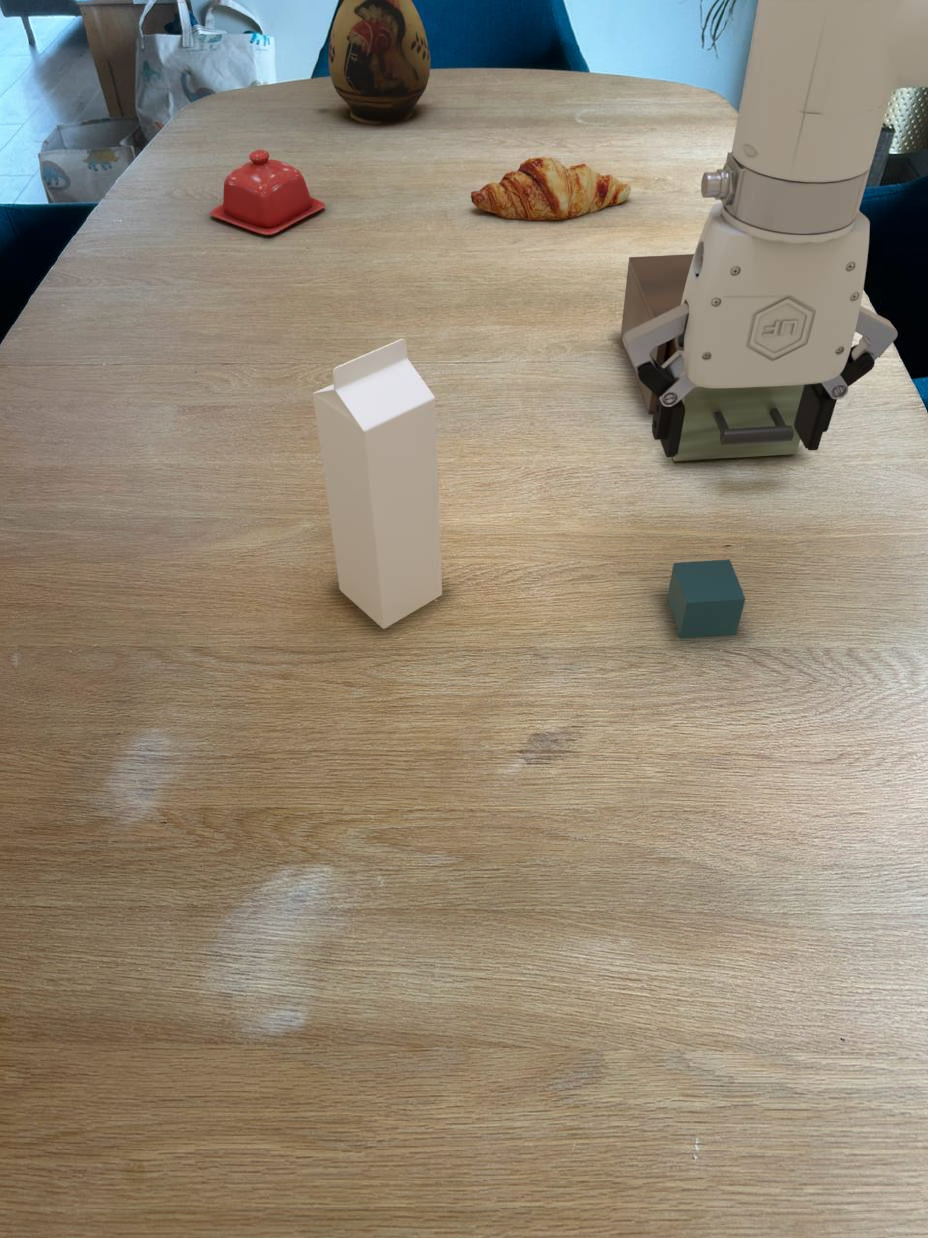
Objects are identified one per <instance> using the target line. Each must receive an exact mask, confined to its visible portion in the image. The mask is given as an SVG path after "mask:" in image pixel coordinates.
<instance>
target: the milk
mask: <svg viewBox="0 0 928 1238" xmlns="http://www.w3.org/2000/svg"><path fill="white" fill-rule="evenodd" d="M332 381H333V384H331V385H328V386H326V387H324V388H321V389H319V390H316V391H314V392H313V393H312V400H313V407H314V414H315V422H316V429H317V435H318V445H319V450H320V451H319V452H320V458H321V466H322V471H323V480H324V486H325V494H326V495H325V496H326V500H327V501H326V502H327V509H328V516H329V523H330V529H331V537H332V545H333V551H334V559H335V567H336V573H337V574H336V575H337V580H338V587H339V591H340V592H341V593H342V594H343V595H345V596H346V598H348V599H349V600H350V601H351V602H352V603H353V604H355V605H356V606H357V607H358V608H359V609H360V610H361V611H363V613H365V614H366V615H367V616H368V617H369V618H370V619H372V621H373V622H375V623H376V624H377V625H378V626H379V627H380V628H382V629H383V630H385V629H387V628H389V627H390V626H391V625H392V626H393V624H395V623H396V622H398V621H400V620H401V619H404V618H405V617H408V615H411V614H412V613H414V612H415V611H418V610H419V609H421V608H422V607H424V606H425V605H427V604H429V603H430V602H432V601H434V600H436V599H437V598H439V597H441V596H442V595H443V577H442V576H443V575H442V573H443V572H442V549H441V548H442V547H441V521H440V501H439V500H440V498H439V497H440V496H439V495H440V494H439V471H438V444H437V443H438V442H437V417H436V415H437V414H436V398H435V395H434V394H433V392H432V391H431V390H430V388H429V387H428V385H427V384H426V383H425V381H424V379H423V378H422V377H421V375H420V374H419V372H418V371H417V370H416V368H415V367H414V365H413V364H412V363H411V361H410V360H409V358H408V346H407V341H406V340H405V339H404V338H400V339H397V340H396V341H393V342H390V343H388V344H386V345H384V346H381V347H379V348H377V349H375V350H372V351H370V352H367V353H365V354H363V355H360V356H358V357H356V358H354V359H351V360H349V361H347V362H344V363H341V364H339V365H337V366H336V367H334V368H333V370H332Z"/></svg>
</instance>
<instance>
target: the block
mask: <svg viewBox="0 0 928 1238" xmlns="http://www.w3.org/2000/svg"><path fill="white" fill-rule="evenodd" d="M670 574H671V576H670V579H669V586H668V591H667V597H666V601H667V604H668V607H669V610H670V613H671V616H672V619H673V623H674V626H675V629H676V632H677V635H678V639H681V640H682V639H695V638H697V639H698V638H710V637H726V636H727V637H728V636H736V635H737V632H738V629H739V625H740V621H741V617H742V613H743V609H744V606H745V602H746V597H745V594H744V591H743V589H742V587H741V584H740V581H739V579H738V575H737V574H736V572H735V569H734V566H733V564H732V562H731V559H715V560H712V559H711V560H700V561H698V560H697V561H684V562H681V561H680V562H673V564H672V569H671V573H670Z"/></svg>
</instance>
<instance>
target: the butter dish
mask: <svg viewBox="0 0 928 1238" xmlns="http://www.w3.org/2000/svg"><path fill="white" fill-rule="evenodd" d="M248 159H249V160H250V161H248V162H246V163H244V164H242V165H240V166H238V167H237V168H235V169H234V170H233V171H231V172H230V173H229V174H228V175H227V176H226V177H225V178H224V182H223V203H222V204H220V205H218V206H217V207H215V208H213V209H212V210H211V211H210V212H209V216H211V217H213V218H215V219H218V220H221V221H223V222H226V223H229V224H232V225H234V226H237V227H239V228H242V229H245V230H247V231H250V232H255V233H257V234H260V235H263V236H273V235H275V234H278V233H279V232H282V231H283V230H285V229H287V228H288V227H290V226H292V225H293V224H296V223H298V222H300V221H302V220H303V219H305V218H307V217H309V216H311V215H314V214H316V213H317V212H319V211H321V210H323V209H324V208H325V207H326V204H325V203H324V202H323V201H321V200H319V199H317V198H314V197H312V196H311V195H310V191H309V188H308V186H307V183H306V181H305V178H304V175H303V173H302V172H301V171H300V170H299V169H297V168H296V167H294V166H292V165H290V164H288V163H286V162H284V161H281V160H277V159H272V158H270V153H269V152H268V151H267V150H265V149H256V150H253V151H252V152H251V153H250V154H249V156H248Z"/></svg>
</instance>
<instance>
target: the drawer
mask: <svg viewBox="0 0 928 1238" xmlns="http://www.w3.org/2000/svg"><path fill="white" fill-rule="evenodd" d="M676 351H677V349H676V345H675V338H674V339H672V340H669V341H667V344H666V351H665V358H664V363H665V362H666V361H667V360H668V359H669V358H670V357H671V356H672V355H673V354H674V353H675V352H676ZM803 388H804V385H788V386H767V387H744V388H705V387H701V386H698V385H696V386H695V387H694V388H693V389H692V390H691V391H690V392H689V393H688V394H687V395H686V396H684V397H683V398H682V401H683V403H684V406H685V416H684V422H683V427H682V433H681V439H680V444H679V450H678V454H677V455H675V457H672V459H673V462H681V461H682V462H683V461H684V462H685V461H700V460H717V459H719V460H720V459H734V458H749V457H752V458H753V457H768V456H784V455H786V456H787V455H797V453H798V449H799V446H800V443H801V439H800V437H799V435H798V433H797V431H796V430H795V428H794V422H795V418H796V414H797V410H798V407H799V403H800V399H801V396H802V392H803Z"/></svg>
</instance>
